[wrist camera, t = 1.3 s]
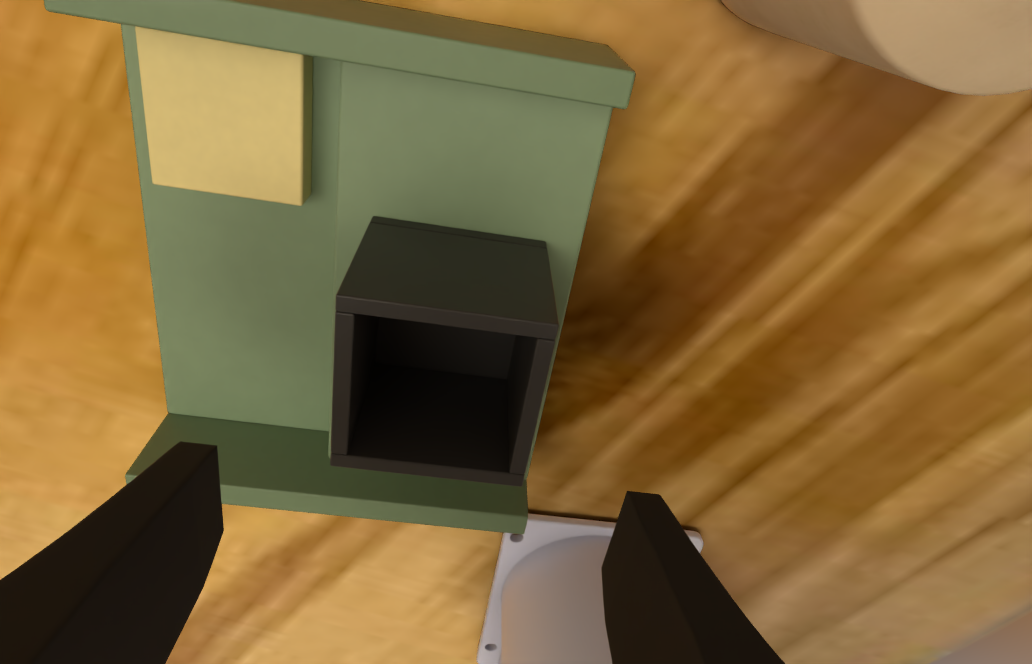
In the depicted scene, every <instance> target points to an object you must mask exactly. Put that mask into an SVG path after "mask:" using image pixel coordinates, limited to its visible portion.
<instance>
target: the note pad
mask: <svg viewBox="0 0 1032 664" xmlns="http://www.w3.org/2000/svg"><path fill="white" fill-rule="evenodd" d="M135 32H136V41H137V50H138V59H139V68H140V77H141V86H142V95H143V104H144V113H145V122H146V131H147V140H148V149H149V157H150V166H151V175H152V183H153V184H155V185H162V186H169V187H176V188H182V189H189V190H196V191H203V192H209V193H216V194H223V195H230V196H237V197H243V198H250V199H257V200H264V201H270V202H277V203H284V204H291V205H297V206H302V205H303V204H304V203H305V201H306V200H307V199H308V197H309V196H310V194H311V165H312V79H313V56H307V55H301V54H296V53H290V52H284V51H278V50H272V49H266V48H260V47H254V46H249V45H243V44H237V43H231V42H225V41H219V40H213V39H207V38H201V37H196V36H190V35H184V34H178V33H172V32H166V31H160V30H154V29H149V28H143V27H137V26H135Z"/></svg>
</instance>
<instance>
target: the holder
mask: <svg viewBox="0 0 1032 664" xmlns="http://www.w3.org/2000/svg"><path fill="white" fill-rule="evenodd" d="M335 309H336V312H335V331H334V361H333V390H332V420H331V450H330V451H331V454H330V465H331V466H335V467H344V468H354V469H363V470H372V471H381V472H390V473H399V474H408V475H417V476H427V477H436V478H445V479H454V480H463V481H472V482H481V483H490V484H499V485H509V486H518V487H522V485H523V481H524V477H525V473H526V468H527V464H528V459H529V455H530V451H531V446H532V442H533V438H534V433H535V429H536V425H537V420H538V416H539V411H540V407H541V403H542V398H543V394H544V390H545V385H546V381H547V377H548V372H549V368H550V363H551V359H552V355H553V350H554V346H555V339H556V337H557V333H558V328H559V322H558V315H557V309H556V302H555V295H554V289H553V282H552V276H551V269H550V262H549V256H548V250H547V244H546V242H545V241H540V240H533V239H526V238H520V237H513V236H506V235H499V234H492V233H486V232H479V231H472V230H465V229H459V228H452V227H445V226H438V225H432V224H425V223H418V222H411V221H404V220H398V219H391V218H384V217H377V216H373V217H372V219H371V221H370V223H369V225H368V227H367V229H366V231H365V233H364V236H363V238H362V240H361V242H360V244H359V246H358V249H357V251H356V253H355V255H354V257H353V259H352V261H351V264H350V266H349V268H348V270H347V272H346V274H345V277H344V279H343V281H342V283H341V285H340V287H339V290H338V292H337V294H336V301H335Z"/></svg>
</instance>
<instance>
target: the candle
mask: <svg viewBox="0 0 1032 664" xmlns="http://www.w3.org/2000/svg"><path fill="white" fill-rule="evenodd" d="M721 1H722V2H723V4H724V5H725V6H726V7H727V8H728V9H729V10H730V11H732V12H733V13H734V14H735V15H736V16H738V17H739V18H741V19H742V20H744V21H746V22H747V23H749V24H751V25H754V26H756V27H759V28H761V29H764V30H766V31H769V32H771V33H774V34H777V35H780V36H783V37H786V38H789V39H792V40H795V41H798V42H801V43H803V44H806V45H809V46H812V47H815V48H818V49H821V50H824V51H827V52H830V53H833V54H836V55H839V56H842V57H845V58H848V59H851V60H853V61H856V62H859V63H862V64H865V65H868V66H871V67H874V68H877V69H880V70H883V71H886V72H889V73H892V74H895V75H898V76H901V77H904V78H906V79H909V80H912V81H915V82H918V83H921V84H924V85H927V86H930V87H933V88H936V89H939V90H944V91H948V92H953V93H958V94H965V95H980V96H986V95H1000V94H1010V93H1015V92H1020V91H1025V90H1029V89H1032V0H721Z"/></svg>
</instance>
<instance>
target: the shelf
mask: <svg viewBox="0 0 1032 664" xmlns="http://www.w3.org/2000/svg"><path fill="white" fill-rule="evenodd" d="M44 4H45V8H46V10H47V11H49V12H54V13H60V14H66V15H72V16H78V17H84V18H90V19H96V20H101V21H107V22H113V23H119V24H121V30H122V38H123V46H124V54H125V63H126V71H127V79H128V87H129V96H130V104H131V112H132V120H133V129H134V137H135V145H136V154H137V162H138V170H139V178H140V187H141V195H142V203H143V211H144V220H145V228H146V236H147V244H148V253H149V261H150V269H151V277H152V286H153V294H154V302H155V310H156V319H157V327H158V335H159V344H160V352H161V360H162V368H163V377H164V385H165V393H166V401H167V410H168V415H167V416H166V417H165V419H164V420H163V422H162V423H161V425H160V426H159V427H158V429H157V430H156V432H155V433H154V435H153V436H152V437H151V439H150V440H149V442H148V443H147V444H146V446H145V447H144V449H143V450H142V452H141V453H140V454H139V456H138V457H137V459H136V460H135V462H134V463H133V464H132V466H131V467H130V469H129V470H128V472H127V473H126V475H125V477H126V483H127V484H128V483H129V482H131V481H132V480H133V479H134V478H136V477H137V476H138V475H139V474H140V473H142V472H143V471H144V470H145V469H146V468H148V467H149V466H150V465H151V464H152V463H154V462H155V461H156V460H157V459H158V458H160V457H161V456H162V455H163V454H164V453H166V452H167V451H168V450H169V449H171V448H172V447H173V446H174V445H176V444H177V443H179V442H180V441H182V442H191V443H200V444H209V445H217V450H218V463H219V476H220V489H221V502H222V504H230V505H239V506H249V507H259V508H269V509H279V510H288V511H298V512H308V513H318V514H327V515H337V516H347V517H357V518H366V519H376V520H386V521H396V522H405V523H415V524H425V525H435V526H445V527H454V528H464V529H474V530H484V531H493V532H503V533H513V534H524V533H525V529H526V525H527V521H528V501H527V481H526V479H527V476H528V472H529V468H530V464H531V459H532V455H533V451H534V446H535V442H536V438H537V433H538V429H539V425H540V420H541V416H542V412H543V408H544V403H545V399H546V395H547V390H548V386H549V382H550V377H551V373H552V369H553V364H554V360H555V356H556V351H557V347H558V343H559V339H560V334H561V330H562V326H563V321H564V317H565V313H566V308H567V304H568V300H569V295H570V291H571V287H572V283H573V278H574V274H575V270H576V265H577V261H578V257H579V252H580V248H581V244H582V239H583V235H584V231H585V226H586V222H587V218H588V214H589V209H590V205H591V201H592V196H593V192H594V188H595V183H596V179H597V175H598V170H599V166H600V162H601V158H602V153H603V149H604V145H605V140H606V136H607V132H608V127H609V123H610V119H611V114H612V110H613V108H619V109H627V107H628V104H629V100H630V96H631V92H632V88H633V84H634V79H635V75H636V74H635V72H634V71H633V70H632V69H631V68H630V67H629V66H628V65H627V64H626V63H625V62H624V61H623V60H622V59H621V58H620V57H619V56H618V55H617V54H616V53H615V52H614V51H613V50H612V49H611V48H610V47H609V46H608V45H604V44H599V43H593V42H588V41H582V40H577V39H571V38H565V37H560V36H554V35H549V34H543V33H538V32H532V31H526V30H521V29H515V28H510V27H504V26H499V25H493V24H487V23H482V22H476V21H471V20H465V19H460V18H454V17H448V16H443V15H437V14H432V13H426V12H421V11H415V10H409V9H404V8H398V7H393V6H387V5H382V4H376V3H370V2H365V1H359V0H44ZM135 26H137V27H143V28H149V29H154V30H160V31H166V32H172V33H178V34H184V35H190V36H196V37H201V38H207V39H213V40H219V41H225V42H231V43H237V44H243V45H249V46H254V47H260V48H266V49H272V50H278V51H284V52H290V53H296V54H301V55H307V56H313V79H312V165H311V194H310V196H309V197H308V199H307V200H306V201H305V203H304V204H303V205H302V206H297V205H291V204H284V203H277V202H270V201H264V200H257V199H250V198H243V197H237V196H230V195H223V194H216V193H209V192H203V191H196V190H189V189H182V188H176V187H169V186H162V185H155V184H153V183H152V175H151V166H150V157H149V149H148V140H147V131H146V122H145V113H144V104H143V95H142V86H141V77H140V68H139V59H138V50H137V41H136V32H135ZM373 216H377V217H384V218H391V219H398V220H404V221H411V222H418V223H425V224H432V225H438V226H445V227H452V228H459V229H465V230H472V231H479V232H486V233H492V234H499V235H506V236H513V237H520V238H526V239H533V240H540V241H545V242H546V244H547V250H548V256H549V262H550V269H551V276H552V282H553V289H554V295H555V302H556V309H557V315H558V322H559V328H558V333H557V337H556V339H555V346H554V350H553V355H552V359H551V363H550V368H549V372H548V377H547V381H546V385H545V390H544V394H543V398H542V403H541V407H540V411H539V416H538V420H537V425H536V429H535V433H534V438H533V442H532V446H531V451H530V455H529V459H528V464H527V468H526V473H525V477H524V481H523V485H522V487H518V486H509V485H499V484H490V483H481V482H472V481H463V480H454V479H445V478H436V477H427V476H417V475H408V474H399V473H390V472H381V471H372V470H363V469H354V468H344V467H335V466H331V465H330V454H331V451H330V450H331V420H332V390H333V361H334V331H335V312H336V309H335V301H336V294H337V292H338V290H339V287H340V285H341V283H342V281H343V279H344V277H345V274H346V272H347V270H348V268H349V266H350V264H351V261H352V259H353V257H354V255H355V253H356V251H357V249H358V246H359V244H360V242H361V240H362V238H363V236H364V233H365V231H366V229H367V227H368V225H369V223H370V221H371V219H372V217H373Z"/></svg>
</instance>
